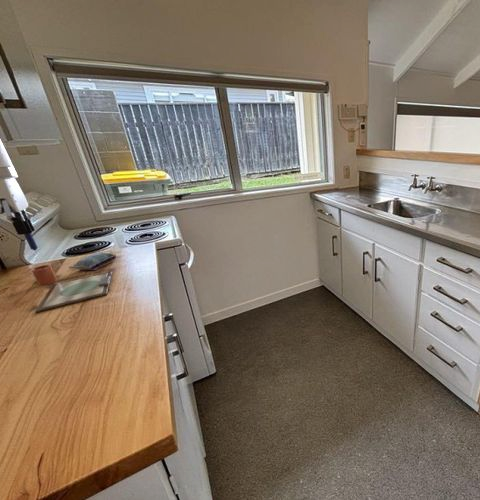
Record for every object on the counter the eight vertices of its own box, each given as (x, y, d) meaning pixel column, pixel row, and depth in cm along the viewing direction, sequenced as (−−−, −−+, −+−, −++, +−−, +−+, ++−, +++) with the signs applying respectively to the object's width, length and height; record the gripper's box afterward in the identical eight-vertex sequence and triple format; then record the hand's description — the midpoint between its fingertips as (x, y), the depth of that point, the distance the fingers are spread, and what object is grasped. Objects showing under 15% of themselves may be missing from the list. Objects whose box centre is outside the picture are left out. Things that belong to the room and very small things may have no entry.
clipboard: (35, 313, 80) (33, 309, 79) (53, 285, 95) (51, 282, 95) (107, 295, 88) (105, 291, 88) (112, 272, 104) (111, 269, 103)
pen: (30, 251, 92) (14, 216, 87) (32, 249, 93) (16, 215, 89) (37, 250, 92) (21, 215, 88) (39, 248, 94) (23, 214, 89)
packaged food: (71, 273, 104) (65, 261, 102) (100, 260, 115) (95, 249, 113) (92, 274, 103) (87, 261, 101) (119, 260, 114) (115, 249, 112)
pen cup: (37, 287, 95) (29, 271, 92) (41, 282, 98) (33, 267, 96) (56, 283, 97) (48, 268, 95) (59, 278, 100) (51, 263, 98)
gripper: (-10, 173, 88) (19, 229, 95) (-35, 177, 75) (0, 242, 82) (24, 170, 91) (49, 225, 98) (5, 174, 79) (35, 236, 86)
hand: (26, 232), depth 90 cm, fingers closed on pen, 1 cm apart
